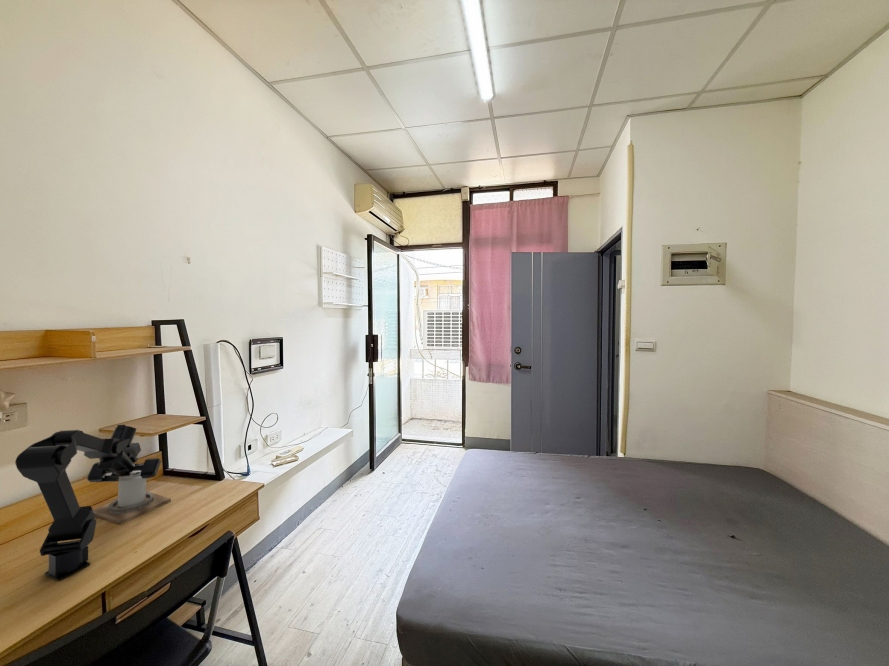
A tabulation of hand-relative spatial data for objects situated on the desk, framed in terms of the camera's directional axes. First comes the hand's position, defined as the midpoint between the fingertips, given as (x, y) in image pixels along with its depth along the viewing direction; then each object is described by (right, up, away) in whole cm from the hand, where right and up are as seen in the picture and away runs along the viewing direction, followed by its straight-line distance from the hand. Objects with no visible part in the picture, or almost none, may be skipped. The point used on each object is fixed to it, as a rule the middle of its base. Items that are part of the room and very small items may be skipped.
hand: (134, 478), depth 125 cm
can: (0, -9, -1) cm, 9 cm away
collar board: (0, -10, -1) cm, 10 cm away
